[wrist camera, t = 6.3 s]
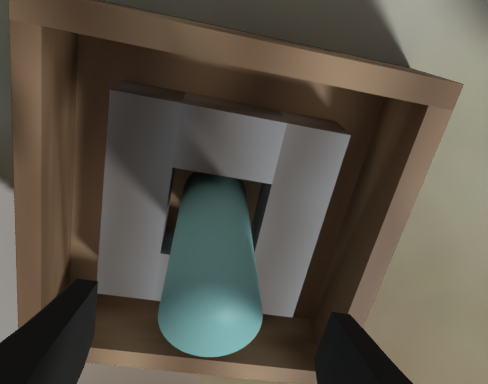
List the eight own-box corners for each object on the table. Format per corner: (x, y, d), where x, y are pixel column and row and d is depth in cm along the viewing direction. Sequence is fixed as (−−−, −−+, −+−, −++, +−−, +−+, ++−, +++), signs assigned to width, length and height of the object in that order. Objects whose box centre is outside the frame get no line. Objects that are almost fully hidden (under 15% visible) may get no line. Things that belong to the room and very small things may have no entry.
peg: (249, 169, 20) (270, 279, 12) (241, 225, 21) (255, 359, 13) (185, 162, 20) (160, 271, 11) (180, 219, 21) (155, 354, 13)
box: (411, 68, 19) (463, 84, 15) (318, 326, 25) (337, 388, 21) (59, -9, 17) (8, -15, 13) (54, 294, 23) (19, 355, 19)
